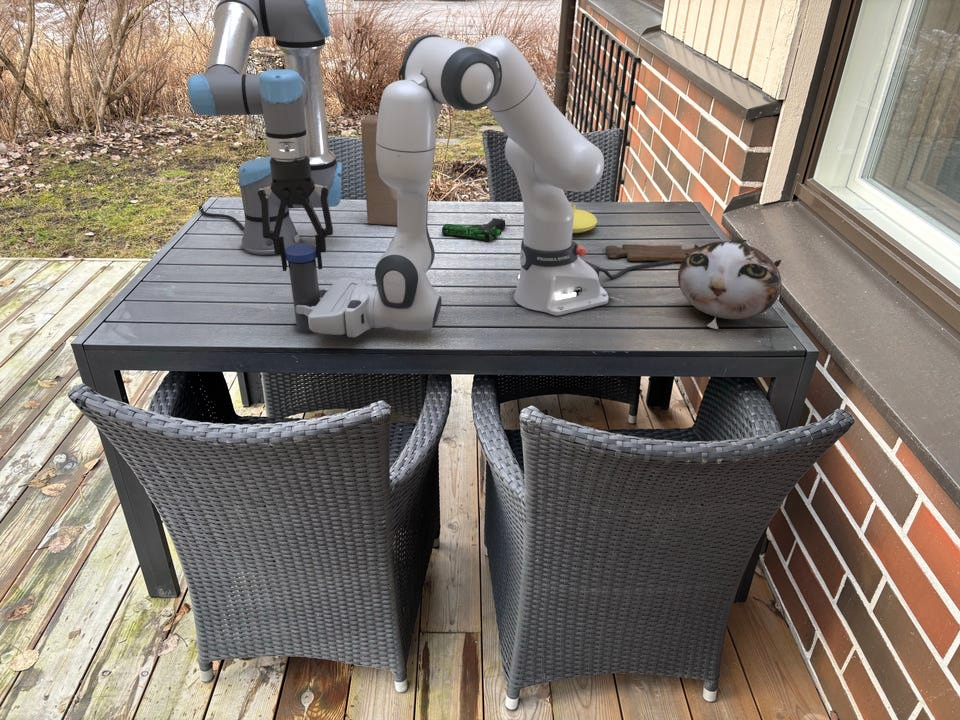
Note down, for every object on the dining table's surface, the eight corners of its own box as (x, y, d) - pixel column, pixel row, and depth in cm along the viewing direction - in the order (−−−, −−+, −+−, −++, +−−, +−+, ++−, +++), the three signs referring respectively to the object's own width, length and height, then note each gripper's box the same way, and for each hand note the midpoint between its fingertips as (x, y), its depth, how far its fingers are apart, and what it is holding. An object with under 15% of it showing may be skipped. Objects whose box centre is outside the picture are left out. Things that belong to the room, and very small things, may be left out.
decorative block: (416, 227, 210) (413, 122, 195) (367, 224, 212) (359, 120, 196) (422, 218, 216) (419, 116, 201) (373, 215, 218) (367, 114, 203)
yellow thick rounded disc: (559, 216, 220) (561, 193, 217) (605, 227, 212) (608, 204, 209) (532, 230, 209) (533, 207, 206) (580, 242, 201) (582, 218, 198)
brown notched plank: (705, 264, 190) (697, 250, 198) (707, 258, 189) (698, 245, 198) (608, 261, 190) (604, 247, 199) (609, 255, 189) (605, 241, 198)
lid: (287, 264, 144) (286, 257, 144) (282, 252, 150) (281, 245, 149) (320, 260, 147) (319, 253, 146) (314, 248, 152) (313, 241, 151)
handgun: (511, 219, 210) (493, 234, 198) (511, 228, 211) (492, 244, 199) (461, 212, 215) (440, 226, 203) (461, 221, 217) (440, 236, 204)
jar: (298, 321, 159) (289, 247, 150) (324, 320, 159) (316, 247, 150) (295, 333, 154) (285, 258, 145) (321, 332, 154) (313, 257, 146)
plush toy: (655, 305, 156) (684, 221, 158) (671, 327, 172) (697, 250, 173) (760, 330, 146) (790, 239, 147) (766, 351, 161) (793, 268, 163)
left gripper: (234, 164, 133) (253, 277, 145) (340, 160, 136) (350, 272, 148) (239, 153, 139) (256, 263, 151) (340, 150, 142) (349, 258, 154)
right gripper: (377, 272, 159) (317, 268, 161) (349, 314, 142) (283, 308, 143) (379, 298, 162) (320, 293, 164) (352, 341, 145) (287, 336, 147)
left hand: (302, 267), depth 149 cm, fingers closed on lid, 6 cm apart
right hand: (302, 301), depth 154 cm, fingers closed on jar, 5 cm apart
